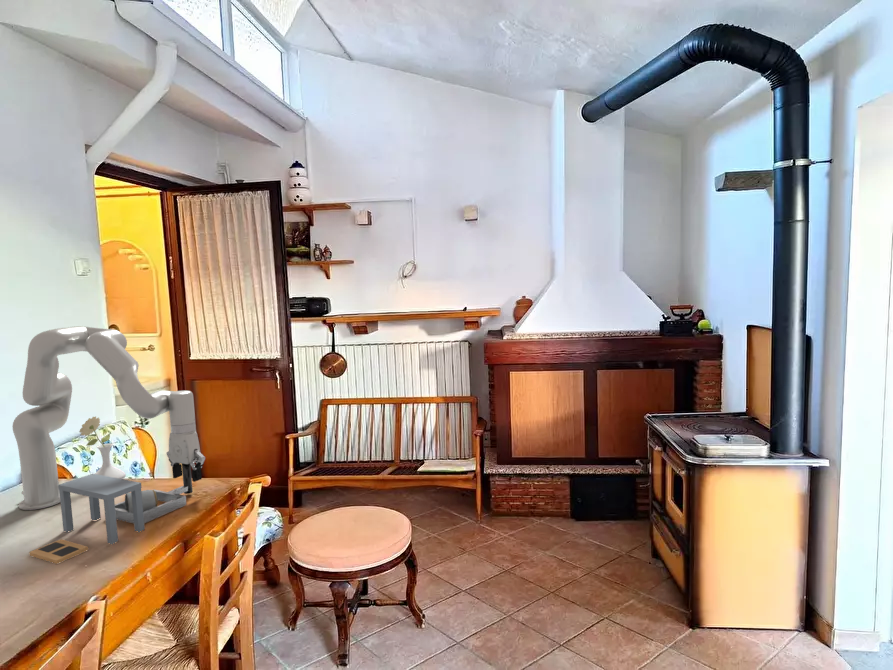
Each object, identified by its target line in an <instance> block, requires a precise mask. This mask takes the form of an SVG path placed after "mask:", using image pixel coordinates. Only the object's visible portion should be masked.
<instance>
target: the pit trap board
mask: <svg viewBox="0 0 893 670" xmlns="http://www.w3.org/2000/svg"><path fill="white" fill-rule="evenodd" d="M86 550H88V551H89V546H86V545H83V544H80V543H76V542H73V541H69V540H65V539H62V538H61V539H58V540H56V541H55V540H54V541H53V542H50V543H48V544H46V545H45V544H44V545H42V546H40V547H38V548H36V549H34V550H31V551H29V552H28V553H29V554H28V555H29V557H32V556H33V557H32V558H35V557H36V559H39V560H42V559H43V560H42V561H45V560H46V562H48V561H50V562H49V563H51V562H53V563H52V564H54V563H55V565H58V564H57V563H59V562H61V563H63V562H65V561H67V560H66V559H68V560H70V559H71V557H72V558H74V557H76V556H75V555H77V556H79V555H81V554H83V553H85V552H84V551H86ZM82 552H83V553H82ZM86 552H87V551H86ZM80 553H81V554H80ZM78 554H79V555H78ZM73 556H74V557H73ZM69 558H70V559H69ZM64 560H65V561H64ZM62 561H63V562H62ZM59 564H60V563H59Z"/></svg>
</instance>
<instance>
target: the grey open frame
mask: <svg viewBox="0 0 893 670" xmlns="http://www.w3.org/2000/svg"><path fill="white" fill-rule="evenodd" d="M181 465H182V481H183V485H182V486H179V487H176V488H173V489H172V490H169V491H165V490H160V489H153V490H154V491H155V492H156V495H157V502H163V503H162V504H159V505H157V507H154V508H152V509H150V510H147V511H145V512H143V516H144V524H146V523H149V522H151V521H153V520H155V519H157V518H160V517H162V516H164V515H166V514H169V513H171V512H173V511H176V510H178V509H180V508H182V507H185V506H187V496H186V495H188V494H192V493H193V481H192V466H191V465H190V464H181ZM183 493H184V494H183ZM115 513H116V520H117V519H118V520H117V521H121V520H122V521H121V522H125V521H126V523H130V524H133V525H134V517H133V512H132V511H127V510H125V500H124V501H120V502H118V503H115Z"/></svg>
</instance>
